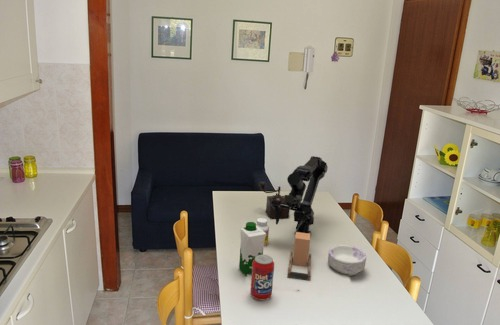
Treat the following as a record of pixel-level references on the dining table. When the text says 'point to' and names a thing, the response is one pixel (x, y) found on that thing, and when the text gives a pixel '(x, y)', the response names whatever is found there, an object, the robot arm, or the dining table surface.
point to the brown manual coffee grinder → (269, 209)
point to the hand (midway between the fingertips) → (286, 226)
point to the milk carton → (250, 246)
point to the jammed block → (301, 249)
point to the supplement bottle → (263, 228)
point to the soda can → (262, 277)
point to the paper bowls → (346, 259)
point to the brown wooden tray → (296, 274)
